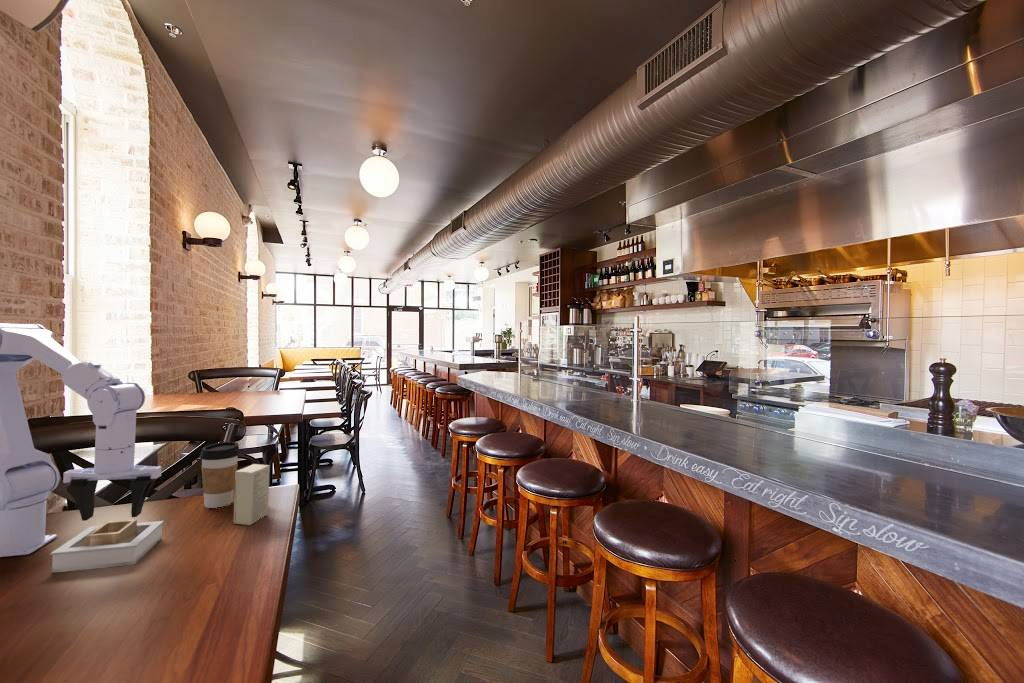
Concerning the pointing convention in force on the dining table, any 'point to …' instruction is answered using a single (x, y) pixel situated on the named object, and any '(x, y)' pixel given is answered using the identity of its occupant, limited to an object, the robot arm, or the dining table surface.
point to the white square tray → (105, 550)
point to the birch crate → (113, 533)
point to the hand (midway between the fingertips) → (112, 516)
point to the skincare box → (251, 493)
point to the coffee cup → (219, 473)
